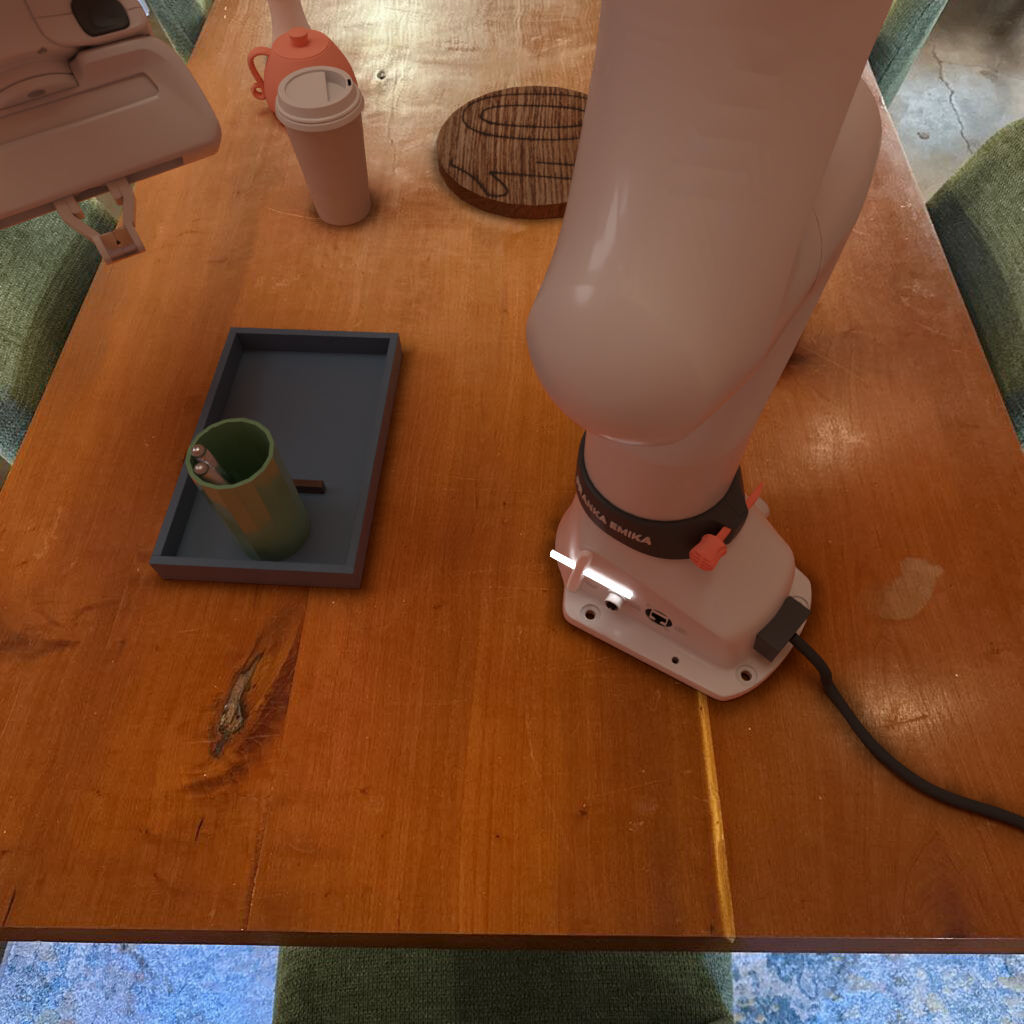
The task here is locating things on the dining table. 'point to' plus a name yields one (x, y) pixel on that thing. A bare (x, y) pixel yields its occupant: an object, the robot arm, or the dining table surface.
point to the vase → (286, 16)
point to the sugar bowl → (294, 60)
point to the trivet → (514, 150)
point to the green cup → (253, 490)
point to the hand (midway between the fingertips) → (126, 257)
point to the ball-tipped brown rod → (209, 474)
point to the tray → (294, 452)
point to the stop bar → (310, 486)
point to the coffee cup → (327, 140)
